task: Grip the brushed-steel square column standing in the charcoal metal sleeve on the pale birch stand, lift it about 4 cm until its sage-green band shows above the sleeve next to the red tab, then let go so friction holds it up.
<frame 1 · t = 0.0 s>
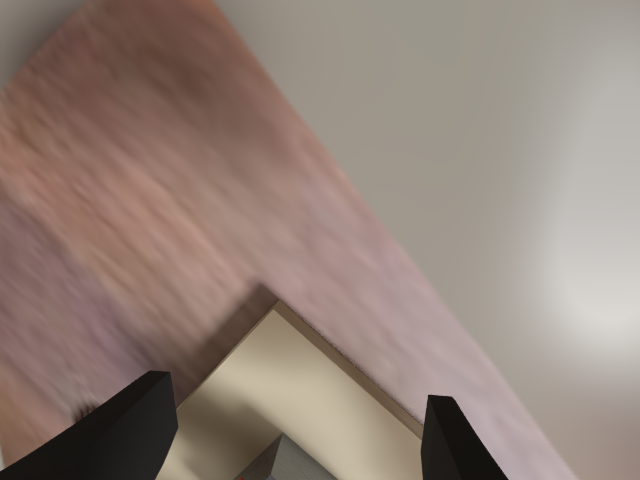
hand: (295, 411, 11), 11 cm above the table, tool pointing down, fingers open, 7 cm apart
stand base: (293, 477, 24), on the table
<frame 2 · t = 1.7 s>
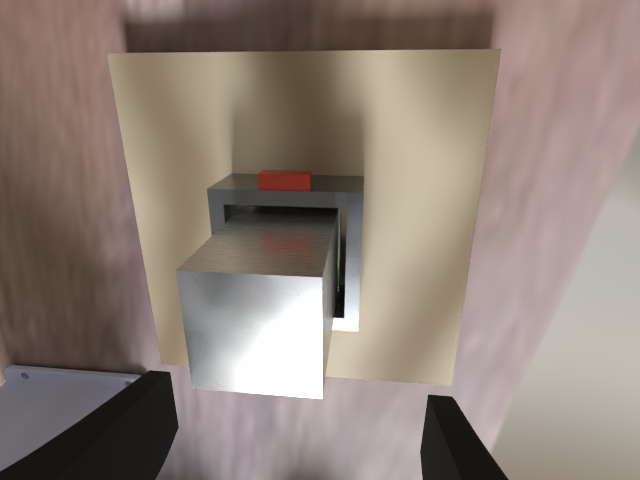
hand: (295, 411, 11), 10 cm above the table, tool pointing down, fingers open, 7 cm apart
stand base: (302, 227, 20), on the table
column: (280, 275, 15), point 6 cm above the table, slide at 0.0 cm
sleeve: (292, 243, 17), on the stand base, point 3 cm above the table
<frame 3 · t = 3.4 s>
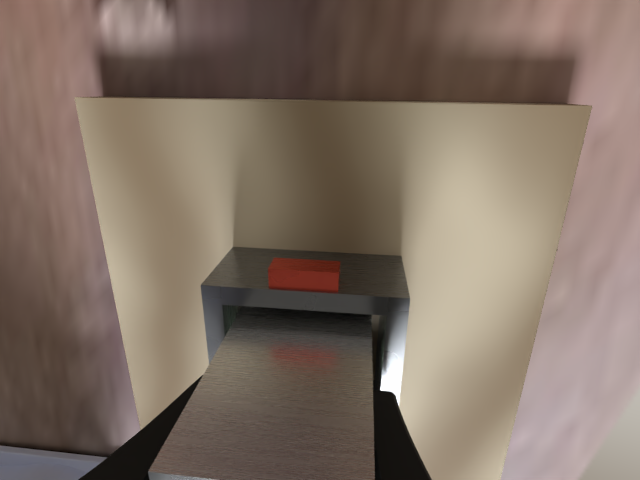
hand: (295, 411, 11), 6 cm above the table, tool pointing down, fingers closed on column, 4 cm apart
stand base: (319, 303, 16), on the table
column: (297, 403, 11), point 6 cm above the table, slide at 0.0 cm, touching gripper
sleeve: (309, 340, 14), on the stand base, point 3 cm above the table
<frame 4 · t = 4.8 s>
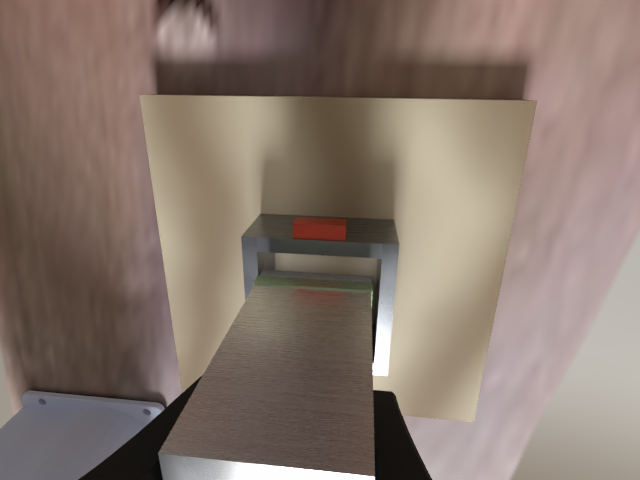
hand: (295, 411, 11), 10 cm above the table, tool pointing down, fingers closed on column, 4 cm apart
stand base: (328, 263, 20), on the table
column: (299, 393, 12), point 9 cm above the table, slide at 3.6 cm, touching gripper
sleeve: (321, 285, 17), on the stand base, point 3 cm above the table
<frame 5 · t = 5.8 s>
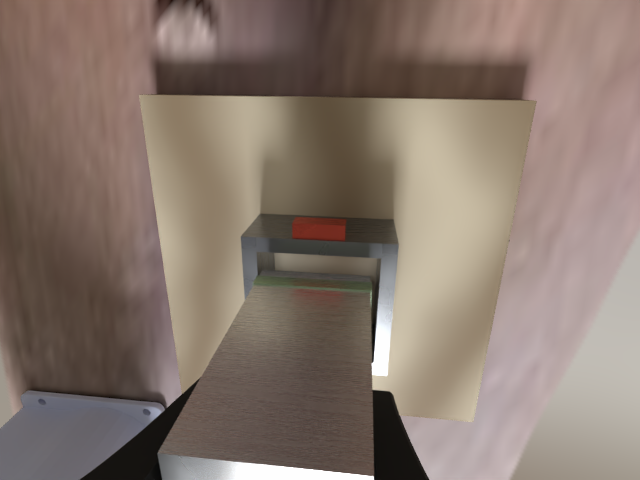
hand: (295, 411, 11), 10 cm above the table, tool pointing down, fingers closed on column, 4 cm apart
stand base: (327, 263, 20), on the table
column: (298, 393, 12), point 9 cm above the table, slide at 3.6 cm, touching gripper
sleeve: (321, 285, 17), on the stand base, point 3 cm above the table
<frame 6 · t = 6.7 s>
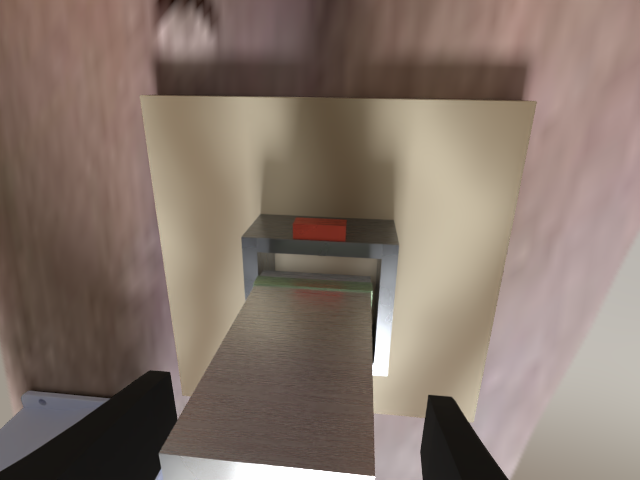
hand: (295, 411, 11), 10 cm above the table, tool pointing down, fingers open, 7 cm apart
stand base: (327, 264, 20), on the table
column: (299, 393, 12), point 9 cm above the table, slide at 3.6 cm
sleeve: (321, 286, 17), on the stand base, point 2 cm above the table
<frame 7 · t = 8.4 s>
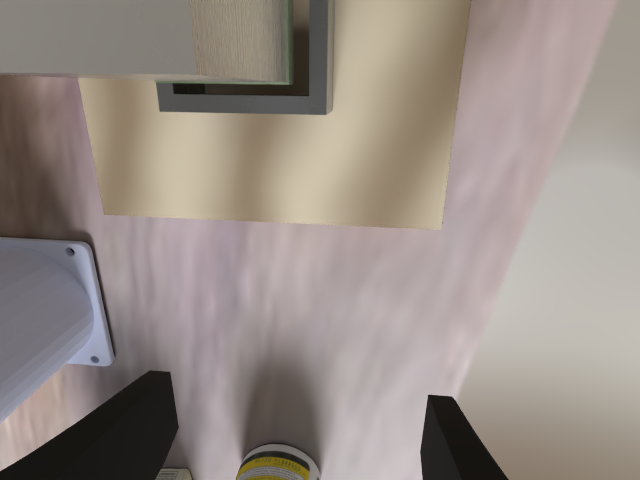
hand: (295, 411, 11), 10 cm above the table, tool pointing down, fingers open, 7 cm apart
supplement bottle: (281, 468, 27), on the table
stand base: (267, 34, 17), on the table
sleeve: (247, 14, 14), on the stand base, point 2 cm above the table
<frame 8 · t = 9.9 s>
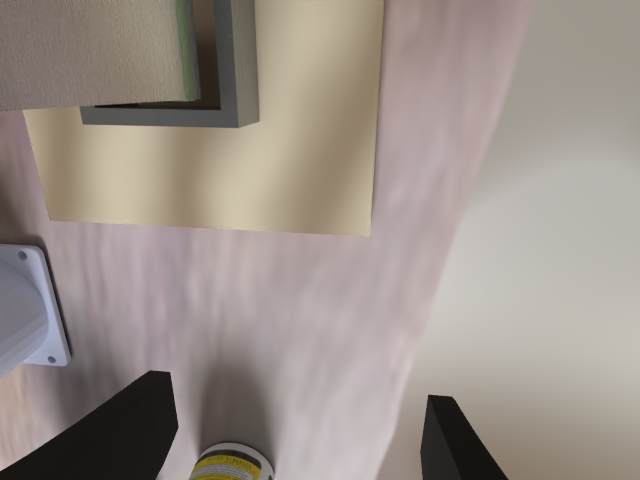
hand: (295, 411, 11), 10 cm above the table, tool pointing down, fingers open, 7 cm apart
supplement bottle: (237, 466, 27), on the table
stand base: (199, 47, 18), on the table
column: (40, 8, 9), point 9 cm above the table, slide at 3.6 cm
sleeve: (166, 30, 15), on the stand base, point 2 cm above the table
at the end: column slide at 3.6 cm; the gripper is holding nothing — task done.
